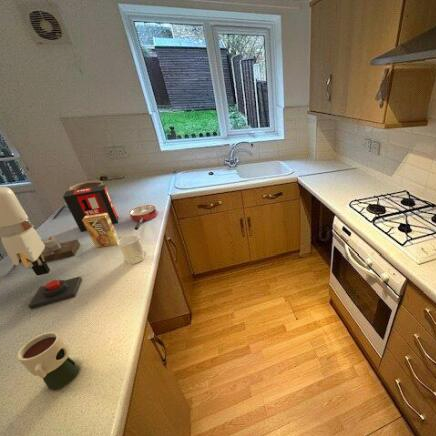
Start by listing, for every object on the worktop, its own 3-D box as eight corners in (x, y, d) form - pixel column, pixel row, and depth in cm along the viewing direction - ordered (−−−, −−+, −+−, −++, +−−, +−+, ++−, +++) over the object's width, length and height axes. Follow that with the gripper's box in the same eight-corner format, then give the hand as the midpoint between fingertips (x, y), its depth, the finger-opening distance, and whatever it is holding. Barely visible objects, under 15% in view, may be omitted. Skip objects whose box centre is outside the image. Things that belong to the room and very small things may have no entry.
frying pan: (160, 233, 122) (156, 222, 119) (130, 240, 117) (126, 229, 114) (156, 210, 147) (153, 200, 144) (132, 215, 142) (128, 205, 139)
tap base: (33, 265, 101) (29, 259, 100) (42, 252, 109) (38, 247, 108) (74, 255, 107) (71, 250, 105) (80, 244, 115) (77, 239, 113)
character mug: (79, 388, 58) (53, 356, 52) (40, 407, 55) (8, 375, 49) (84, 352, 66) (62, 321, 60) (51, 367, 63) (24, 334, 57)
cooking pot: (83, 198, 167) (76, 181, 161) (115, 193, 173) (108, 177, 167) (69, 212, 146) (59, 194, 140) (105, 207, 152) (97, 189, 146)
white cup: (150, 256, 105) (143, 237, 100) (132, 267, 99) (123, 247, 94) (139, 251, 109) (132, 233, 104) (121, 261, 103) (113, 241, 98)
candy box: (119, 240, 118) (107, 212, 110) (117, 244, 114) (105, 216, 107) (98, 243, 115) (84, 215, 108) (95, 248, 112) (81, 219, 104)
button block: (31, 309, 80) (25, 302, 79) (42, 290, 88) (37, 283, 87) (75, 297, 85) (70, 289, 83) (82, 279, 93) (78, 272, 91)
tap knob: (59, 249, 106) (54, 239, 103) (47, 252, 104) (40, 242, 101) (62, 245, 109) (57, 235, 107) (50, 247, 107) (44, 237, 105)
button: (45, 292, 83) (43, 288, 82) (49, 285, 86) (47, 281, 85) (59, 288, 84) (56, 285, 84) (62, 282, 87) (60, 278, 86)
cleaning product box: (117, 217, 140) (104, 184, 130) (118, 223, 133) (104, 189, 124) (82, 225, 132) (65, 191, 122) (81, 232, 125) (63, 196, 116)
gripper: (9, 219, 78) (38, 263, 86) (-17, 242, 66) (19, 291, 75) (39, 214, 81) (64, 258, 89) (19, 235, 69) (50, 283, 78)
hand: (43, 273), depth 82 cm, fingers closed
